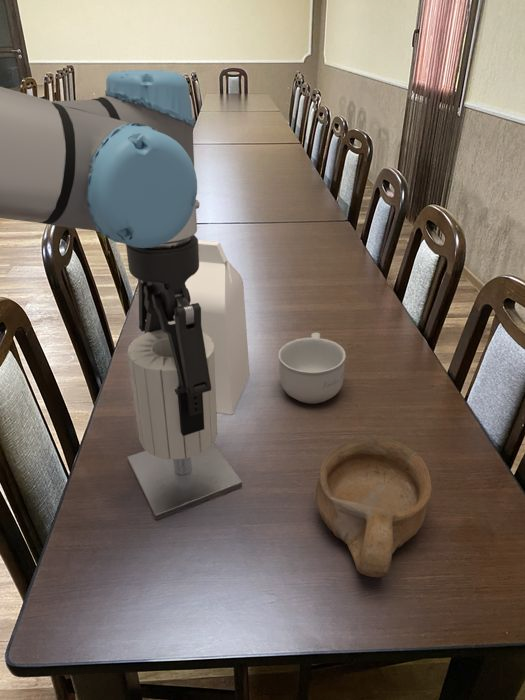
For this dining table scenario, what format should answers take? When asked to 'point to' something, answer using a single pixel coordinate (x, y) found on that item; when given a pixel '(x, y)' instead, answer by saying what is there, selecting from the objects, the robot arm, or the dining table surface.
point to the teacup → (312, 368)
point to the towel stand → (182, 480)
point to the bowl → (373, 498)
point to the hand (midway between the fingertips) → (176, 406)
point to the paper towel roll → (167, 398)
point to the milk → (222, 321)
